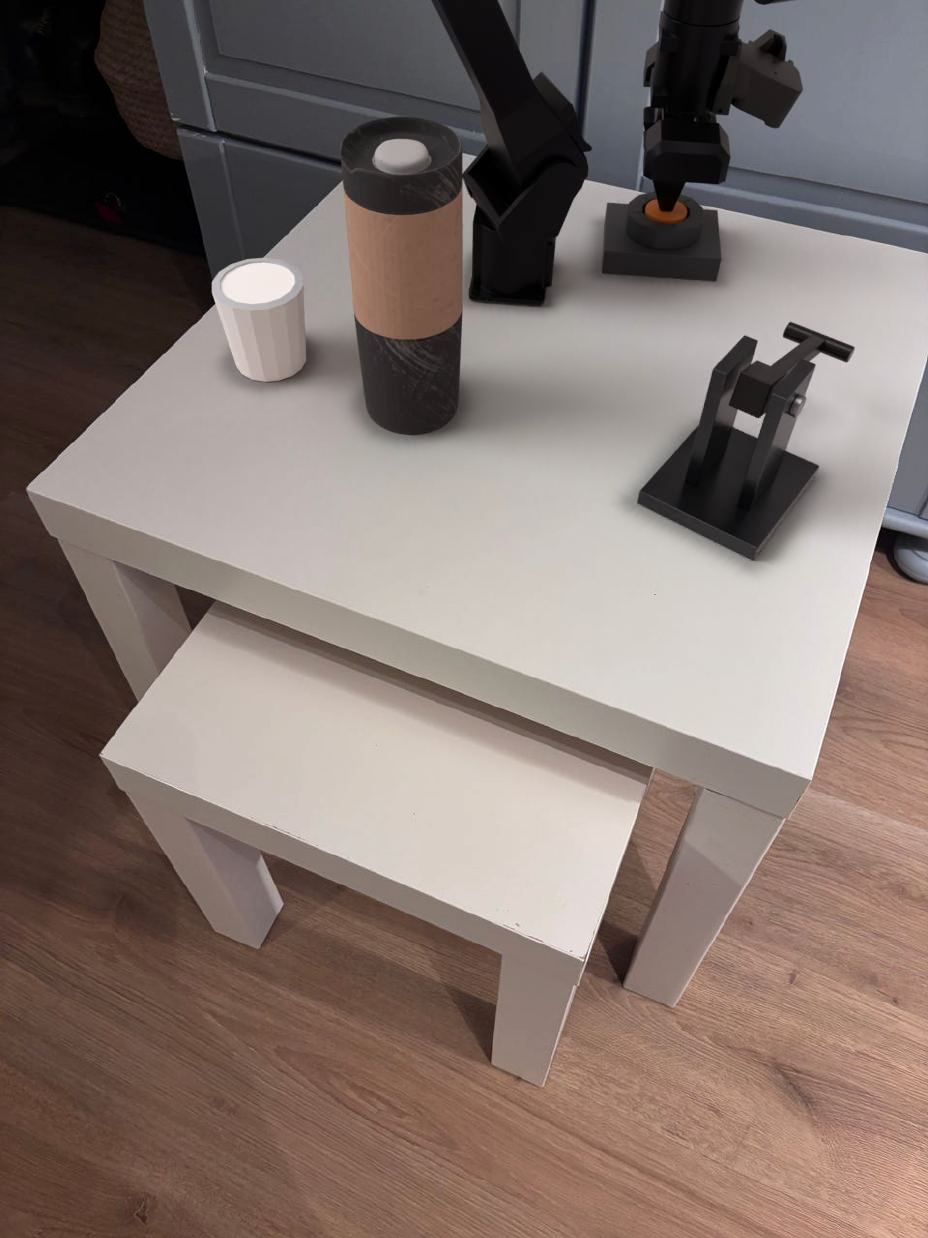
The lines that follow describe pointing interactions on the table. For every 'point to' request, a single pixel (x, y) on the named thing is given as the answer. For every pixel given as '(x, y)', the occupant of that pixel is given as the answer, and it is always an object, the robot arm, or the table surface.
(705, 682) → the table surface
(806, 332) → the switch lever
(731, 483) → the switch bracket
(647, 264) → the control block
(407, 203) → the travel mug
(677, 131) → the robot arm
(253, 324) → the shot glass
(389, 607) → the table surface
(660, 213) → the power button
